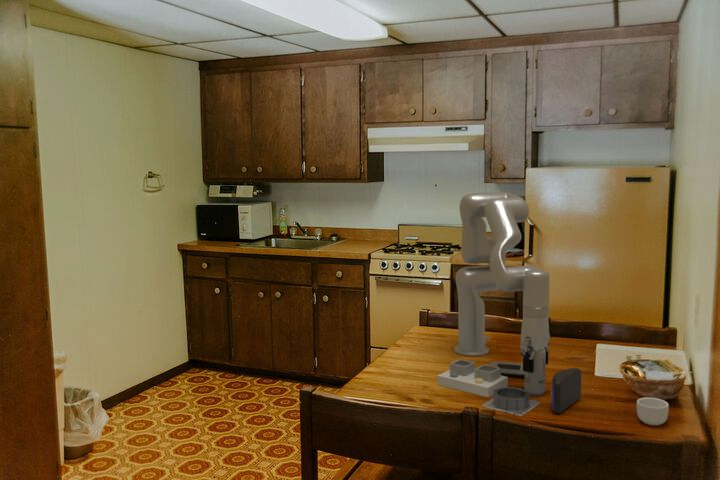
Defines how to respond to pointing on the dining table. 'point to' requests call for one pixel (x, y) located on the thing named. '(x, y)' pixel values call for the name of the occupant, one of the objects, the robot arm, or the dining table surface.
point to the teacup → (652, 410)
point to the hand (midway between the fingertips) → (535, 367)
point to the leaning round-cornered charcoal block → (565, 389)
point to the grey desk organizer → (472, 378)
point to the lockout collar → (511, 401)
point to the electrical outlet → (509, 368)
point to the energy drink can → (536, 374)
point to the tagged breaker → (487, 369)
